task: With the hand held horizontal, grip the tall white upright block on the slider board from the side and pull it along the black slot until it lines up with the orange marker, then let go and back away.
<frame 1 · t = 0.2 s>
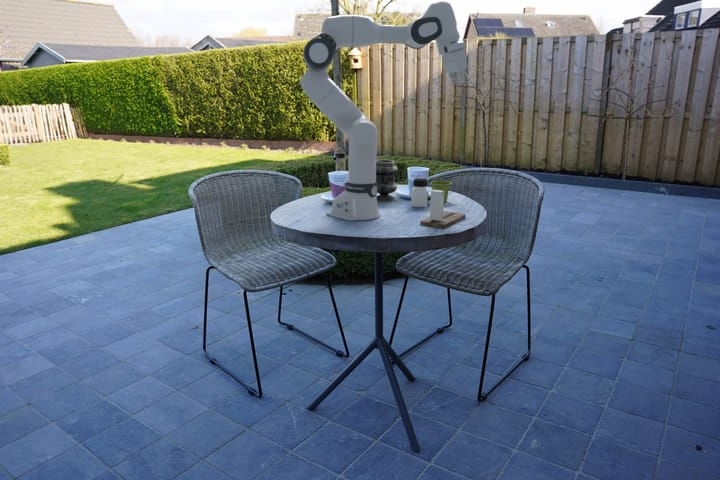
hand: (458, 83, 191), 51 cm above the table, tool tilted 15°, fingers open, 8 cm apart
medicine bottle: (419, 205, 221), on the table
slider board: (443, 221, 195), on the table
white upright block: (437, 205, 188), point 8 cm above the table, slide at 0.0 cm
plant pot: (440, 201, 229), on the table
dark footed urn: (384, 199, 234), on the table
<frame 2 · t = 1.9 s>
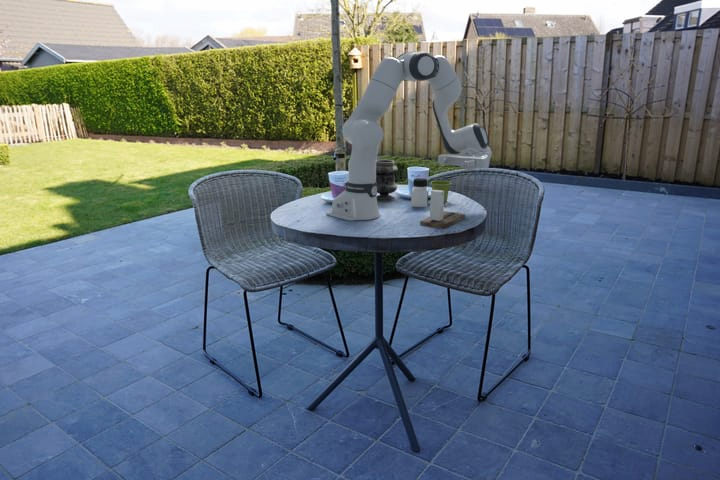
hand: (454, 163, 195), 22 cm above the table, tool horizontal, fingers open, 8 cm apart
nothing on the table moved.
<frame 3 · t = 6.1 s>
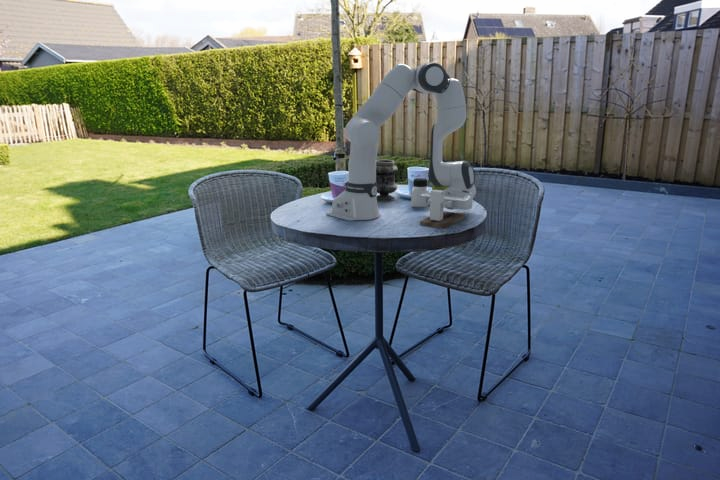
hand: (435, 204, 187), 8 cm above the table, tool horizontal, fingers closed on white upright block, 4 cm apart
white upright block: (437, 205, 188), point 8 cm above the table, slide at 0.0 cm, touching gripper
everything else where it was.
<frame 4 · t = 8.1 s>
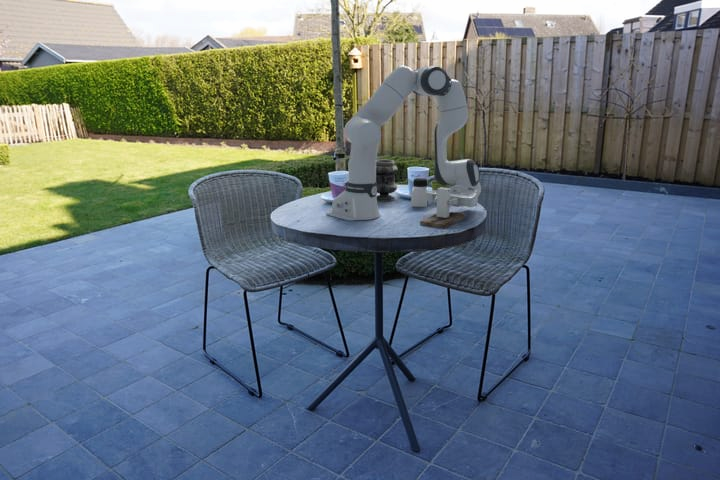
hand: (442, 201, 191), 8 cm above the table, tool horizontal, fingers closed on white upright block, 4 cm apart
white upright block: (443, 202, 192), point 8 cm above the table, slide at 5.4 cm, touching gripper
everything else where it was.
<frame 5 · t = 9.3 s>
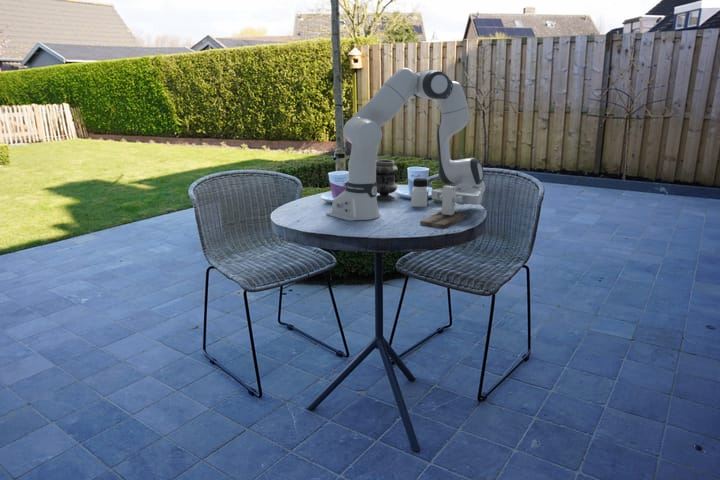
hand: (447, 199, 195), 8 cm above the table, tool horizontal, fingers closed on white upright block, 4 cm apart
white upright block: (448, 200, 196), point 8 cm above the table, slide at 9.9 cm, touching gripper
everything else where it was.
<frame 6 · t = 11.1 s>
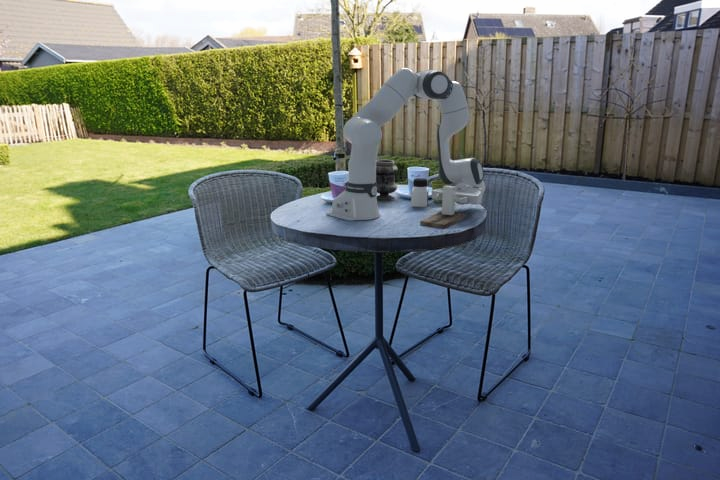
hand: (447, 199, 195), 8 cm above the table, tool horizontal, fingers open, 8 cm apart
white upright block: (448, 200, 196), point 8 cm above the table, slide at 10.0 cm
everything else where it was.
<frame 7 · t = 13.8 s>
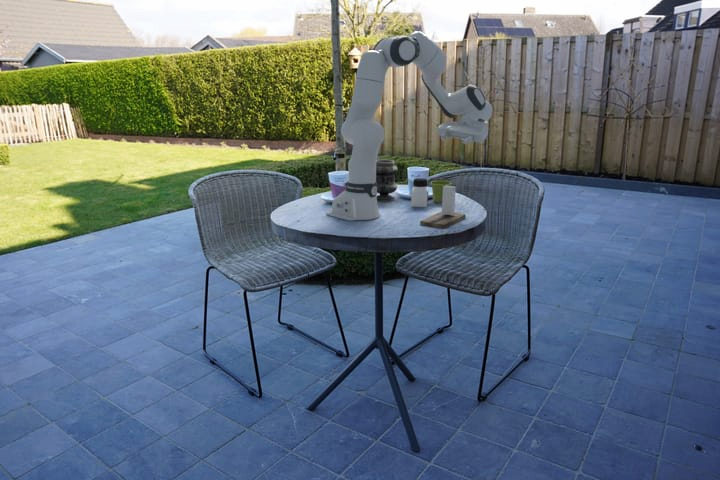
hand: (452, 140, 199), 30 cm above the table, tool tilted 70°, fingers open, 8 cm apart
nothing on the table moved.
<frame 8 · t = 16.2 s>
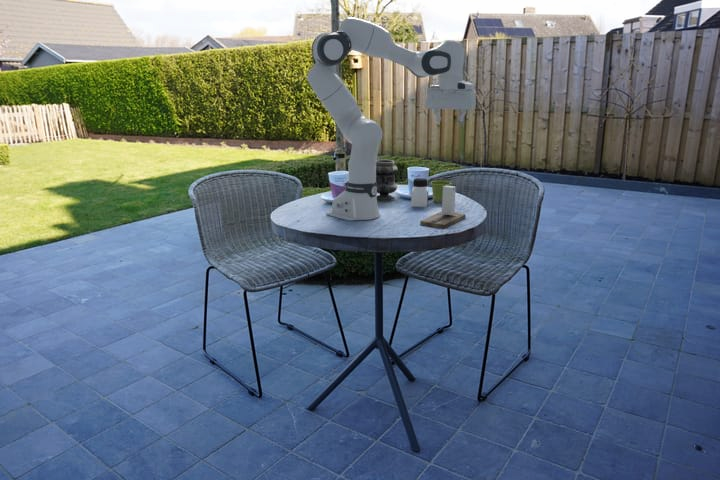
hand: (449, 121, 198), 37 cm above the table, tool pointing down, fingers open, 8 cm apart
nothing on the table moved.
at the end: white upright block slide at 10.0 cm; the gripper is holding nothing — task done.
